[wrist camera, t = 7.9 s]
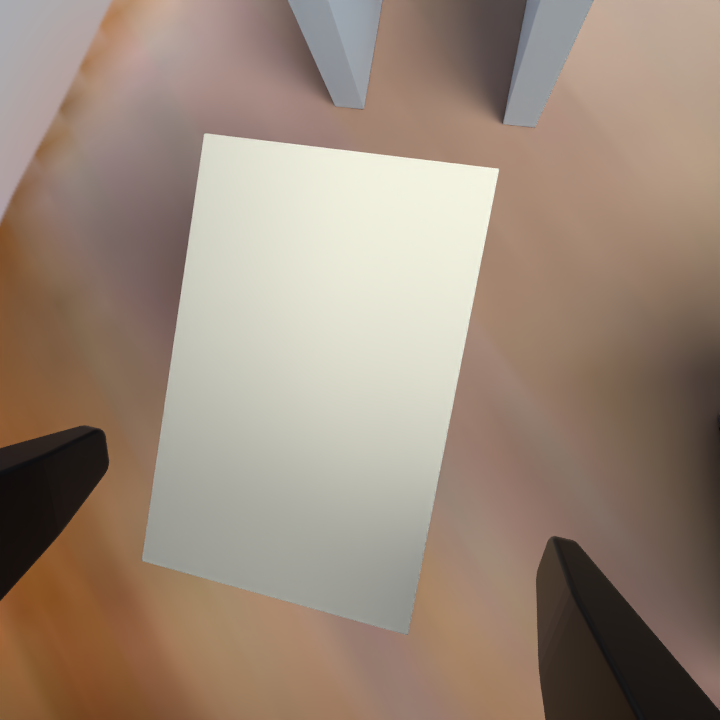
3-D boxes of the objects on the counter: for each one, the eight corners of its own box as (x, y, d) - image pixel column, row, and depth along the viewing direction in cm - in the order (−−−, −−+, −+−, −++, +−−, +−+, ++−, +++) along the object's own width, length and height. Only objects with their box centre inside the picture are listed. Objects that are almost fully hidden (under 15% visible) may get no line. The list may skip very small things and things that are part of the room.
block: (426, 448, 19) (407, 634, 7) (320, 425, 20) (141, 561, 8) (460, 276, 18) (498, 169, 7) (349, 259, 19) (204, 133, 7)
